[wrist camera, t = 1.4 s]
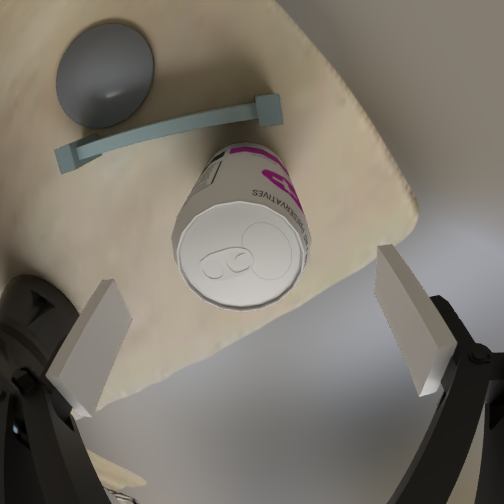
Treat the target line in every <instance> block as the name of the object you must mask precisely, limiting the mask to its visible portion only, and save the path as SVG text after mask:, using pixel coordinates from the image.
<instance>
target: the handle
mask: <svg viewBox="0 0 504 504" xmlns="http://www.w3.org/2000/svg"><path fill="white" fill-rule="evenodd" d="M255 101H256V102H253V103H247V104H240V105H234V106H228V107H222V108H217V109H212V110H206V111H201V112H197V113H192V114H187V115H183V116H178V117H174V118H170V119H166V120H162V121H158V122H154V123H150V124H146V125H142V126H139V127H135V128H132V129H128V130H125V131H121V132H118V133H115V134H112V135H108V136H105V137H102V138H99V139H98V138H97V134H94V135H91V136H88V137H85V138H82V139H80V140H77V141H75V142H72V143H70V144H67V145H65V146H62V147H60V148H58V149H55V150H54V151H55V155H56V158H57V162H58V165H59V169H60V172H61V174H64V173H66V172H69V171H72V170H75V169H77V168H79V167H81V166H83V165H85V164H86V163H88V162H90V161H92V160H94V159H96V158H97V157H99V156H101V155H102V154H101V153H104V152H107V151H110V150H114V149H117V148H121V147H124V146H128V145H132V144H135V143H139V142H143V141H147V140H151V139H155V138H159V137H163V136H167V135H172V134H176V133H180V132H185V131H190V130H195V129H200V128H205V127H210V126H215V125H221V124H226V123H232V122H238V121H245V120H251V119H258V120H259V125H260V127H265V126H272V125H280V124H283V117H282V110H281V103H280V96H279V94H275V93H274V94H266V95H259V96H255Z"/></svg>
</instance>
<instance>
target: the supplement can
mask: <svg viewBox="0 0 504 504" xmlns="http://www.w3.org/2000/svg"><path fill="white" fill-rule="evenodd" d="M311 240H312V238H311V235H310V231H309V228H308V224H307V221H306V218H305V215H304V212H303V210H302V207H301V204H300V202H299V199H298V197H297V194H296V192H295V189H294V187H293V184H292V182H291V179H290V177H289V174H288V172H287V169H286V167H285V164H284V163H283V162H282V161H281V159H280V158H279V157H278V156H277V154H276V153H275V152H273V151H272V150H270V149H268V148H267V147H265V146H263V145H261V144H256V143H250V142H242V143H236V144H230V145H229V146H227V147H225V148H223V149H222V150H220V151H218V152H217V153H216V154H215V155H214V156H213V158H212V159H211V160H210V161H209V163H208V164H207V165H206V167H205V169H204V171H203V172H202V174H201V176H200V177H199V179H198V181H197V182H196V184H195V186H194V188H193V189H192V191H191V193H190V195H189V196H188V198H187V200H186V202H185V203H184V205H183V207H182V209H181V210H180V212H179V214H178V216H177V219H176V223H175V227H174V230H173V234H172V245H173V253H174V259H175V261H176V263H177V265H178V269H179V272H180V274H181V276H182V278H183V279H184V281H185V283H186V285H187V287H188V288H189V289H190V290H191V291H192V292H193V293H195V294H196V295H197V296H198V297H199V298H200V299H201V300H202V301H204V302H207V303H209V304H211V305H213V306H215V307H217V308H220V309H224V310H230V311H237V312H246V311H254V310H261V309H263V308H266V307H268V306H270V305H273V304H275V303H277V302H279V301H280V300H282V299H283V298H284V297H285V296H286V295H287V294H288V293H290V292H291V291H292V290H293V289H294V287H295V286H296V284H297V282H298V280H299V278H300V276H301V274H302V273H303V271H304V269H305V267H306V265H307V263H308V261H309V258H310V249H311Z"/></svg>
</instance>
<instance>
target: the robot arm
mask: <svg viewBox="0 0 504 504" xmlns="http://www.w3.org/2000/svg"><path fill="white" fill-rule="evenodd" d="M374 293H375V295H376V298H377V300H378V302H379V304H380V306H381V308H382V310H383V312H384V314H385V317H386V319H387V321H388V323H389V325H390V328H391V330H392V332H393V334H394V336H395V339H396V341H397V343H398V346H399V348H400V350H401V353H402V355H403V357H404V360H405V362H406V364H407V367H408V370H409V372H410V374H411V377H412V379H413V382H414V384H415V387H416V390H417V392H418V395H419V397H420V396H423V395H427V394H430V393H434V392H436V391H437V389H438V387H439V385H440V383H441V384H442V386H443V389H444V392H443V394H442V396H441V398H440V400H439V402H438V403H437V405H438V407H437V409H436V411H435V414H434V416H433V418H432V421H431V423H430V425H429V427H428V430H427V432H426V434H425V436H424V438H423V440H422V442H421V444H420V446H419V449H418V450H417V452H416V454H415V456H414V458H413V460H412V462H411V464H410V466H409V467H408V469H407V471H406V473H405V475H404V477H403V478H402V480H401V482H400V484H399V485H398V487H397V488H396V490H395V492H394V493H393V495H392V497H391V498H390V500H389V501H388V503H387V504H446V502H447V501H448V498H449V496H450V494H451V492H452V490H453V488H454V486H455V483H456V481H457V479H458V477H459V474H460V472H461V469H462V467H463V465H464V462H465V459H466V457H467V454H468V452H469V449H470V446H471V443H472V440H473V438H474V435H475V432H476V428H477V425H478V422H479V418H480V415H481V412H482V408H483V405H484V404H485V422H484V423H485V424H484V438H483V450H482V460H481V467H480V474H479V481H478V487H477V493H476V498H475V503H474V504H504V353H492V352H491V351H490V349H488V348H487V347H486V346H484V345H482V344H479V343H475V342H474V340H473V338H472V337H471V335H470V334H469V332H468V331H467V329H466V327H465V326H464V324H463V323H462V321H461V320H460V319H459V317H458V315H457V314H456V312H454V309H453V308H452V306H451V305H450V304H449V302H448V301H447V300H445V299H444V298H443V297H441V296H440V295H437V296H432V297H429V296H428V295H427V293H426V292H425V290H424V289H423V287H422V286H421V284H420V283H419V281H418V280H417V278H416V277H415V275H414V274H413V273H412V271H411V270H410V268H409V267H408V266H407V264H406V263H405V261H404V260H403V259H402V257H401V256H400V254H399V253H398V252H397V250H396V249H395V248H394V246H393V245H392V244H390V245H383V246H378V247H377V265H376V279H375V291H374ZM131 322H132V317H131V315H130V313H129V311H128V309H127V307H126V304H125V302H124V300H123V298H122V296H121V293H120V291H119V289H118V287H117V284H116V282H115V280H114V279H109V280H102V282H101V283H100V285H99V286H98V288H97V289H96V291H95V292H94V294H93V295H92V297H91V298H90V300H89V302H88V303H87V305H86V306H85V308H84V309H83V311H82V313H81V314H80V316H79V315H78V313H77V311H76V310H75V308H74V307H73V305H72V304H71V303H70V302H69V300H68V299H67V298H66V297H65V296H64V295H63V294H62V293H61V292H60V291H59V290H57V289H56V288H55V287H54V286H52V285H51V284H49V283H48V282H46V281H44V280H42V279H40V278H38V277H35V276H31V275H20V276H17V277H15V278H14V279H13V280H12V281H11V282H10V283H9V284H8V285H7V286H6V287H5V289H4V291H3V293H2V296H1V298H0V504H111V502H110V500H109V498H108V496H107V494H106V492H105V490H104V488H103V486H102V484H101V482H100V480H99V478H98V476H97V474H96V472H95V469H94V467H93V465H92V463H91V460H90V458H89V456H88V453H87V451H86V449H85V446H84V444H83V441H82V439H81V436H80V433H79V431H78V428H77V425H76V423H75V420H74V418H73V416H72V415H71V414H70V412H71V410H72V408H73V409H74V410H75V411H76V412H77V413H78V414H79V415H81V416H87V417H93V415H94V412H95V410H96V407H97V404H98V401H99V399H100V396H101V394H102V391H103V388H104V386H105V383H106V381H107V378H108V376H109V373H110V371H111V368H112V366H113V363H114V361H115V359H116V356H117V354H118V351H119V349H120V347H121V344H122V342H123V340H124V337H125V335H126V333H127V331H128V328H129V326H130V324H131Z"/></svg>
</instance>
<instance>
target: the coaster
mask: <svg viewBox="0 0 504 504" xmlns="http://www.w3.org/2000/svg"><path fill="white" fill-rule="evenodd" d="M153 75H154V59H153V54H152V51H151V48H150V46H149V44H148V43H147V41H146V39H145V38H144V37H143V36H142V35H141V34H140V33H139V32H137V31H136V30H134V29H132V28H130V27H128V26H125V25H122V24H115V23H110V24H102V25H98V26H96V27H93V28H91V29H89V30H87V31H85V32H84V33H82V34H81V35H80V36H79V37H77V38H76V39H75V40H74V41H73V42H72V43H71V45H70V46H69V47H68V49H67V50H66V52H65V53H64V55H63V57H62V59H61V61H60V64H59V67H58V71H57V78H56V90H57V96H58V100H59V102H60V105H61V107H62V108H63V110H64V112H65V113H66V114H67V115H68V116H69V117H70V118H71V119H72V120H73V121H75V122H76V123H78V124H80V125H82V126H85V127H90V128H104V127H108V126H112V125H115V124H117V123H120V122H121V121H123V120H125V119H126V118H128V117H129V116H131V115H132V114H133V113H134V112H135V111H136V110H137V109H138V108H139V107H140V105H141V104H142V103H143V101H144V100H145V98H146V96H147V94H148V92H149V90H150V87H151V84H152V81H153Z"/></svg>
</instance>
